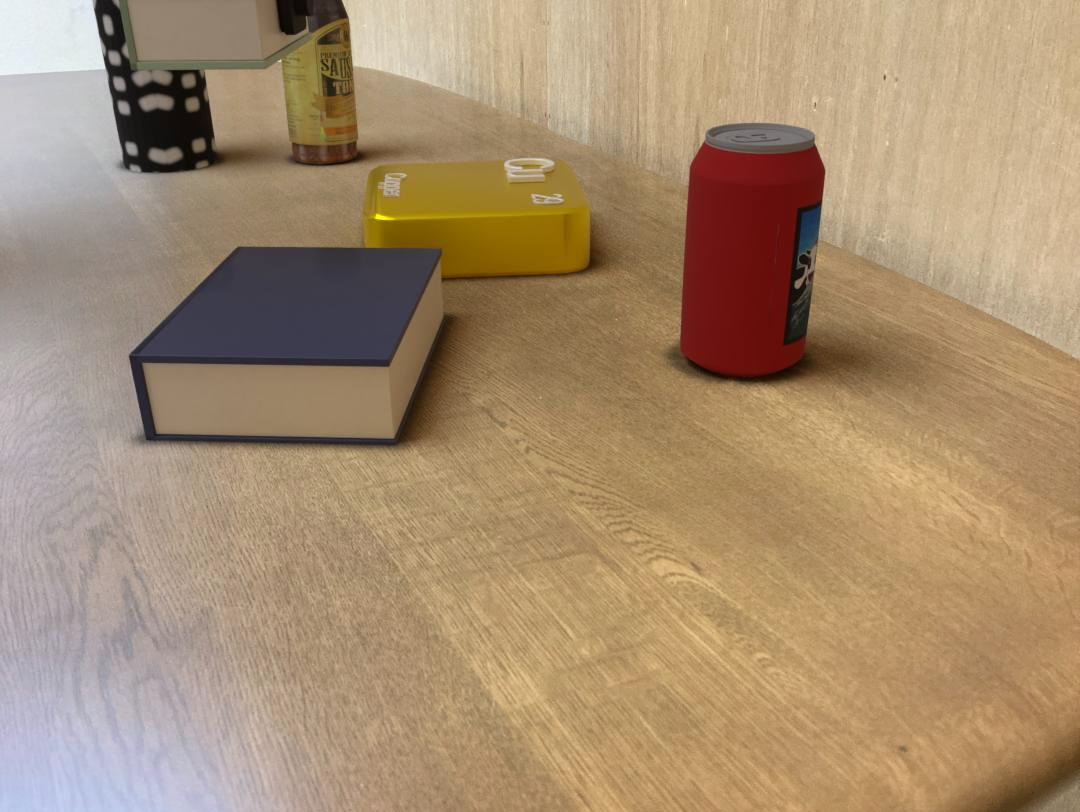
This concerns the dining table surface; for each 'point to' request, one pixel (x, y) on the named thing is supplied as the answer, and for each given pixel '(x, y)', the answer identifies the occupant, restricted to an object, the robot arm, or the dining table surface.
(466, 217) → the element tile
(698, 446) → the dining table surface
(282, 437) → the encyclopedia
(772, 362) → the beverage can
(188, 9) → the hardcover book
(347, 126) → the sauce bottle
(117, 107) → the spotted tube
